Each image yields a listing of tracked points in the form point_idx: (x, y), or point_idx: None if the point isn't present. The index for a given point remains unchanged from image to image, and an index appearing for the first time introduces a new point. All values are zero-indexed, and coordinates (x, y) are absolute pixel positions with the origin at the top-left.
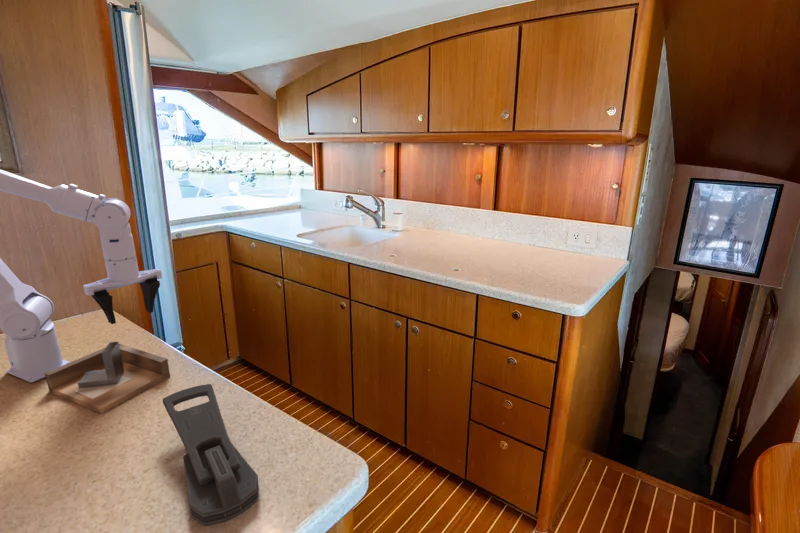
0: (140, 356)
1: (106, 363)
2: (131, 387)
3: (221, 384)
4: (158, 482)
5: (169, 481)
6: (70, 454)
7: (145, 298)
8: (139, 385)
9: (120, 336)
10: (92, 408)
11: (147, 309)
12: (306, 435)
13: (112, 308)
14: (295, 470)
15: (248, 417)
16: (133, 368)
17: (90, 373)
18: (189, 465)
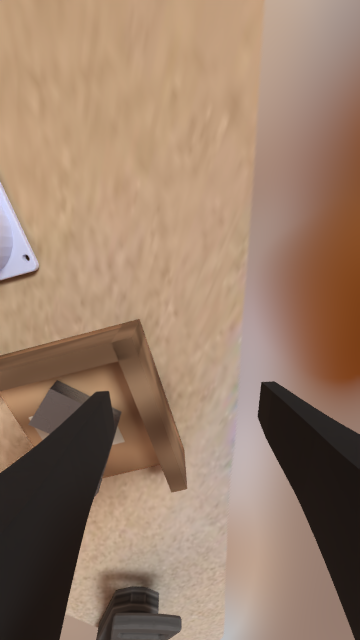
0: (152, 443)
1: None
2: (116, 463)
3: (223, 511)
4: (90, 591)
5: (98, 595)
6: None
7: (303, 446)
8: (128, 466)
9: (191, 153)
10: None
11: (264, 406)
12: (220, 609)
13: (81, 531)
14: (183, 626)
15: (201, 571)
16: None
17: (55, 402)
18: (111, 623)
